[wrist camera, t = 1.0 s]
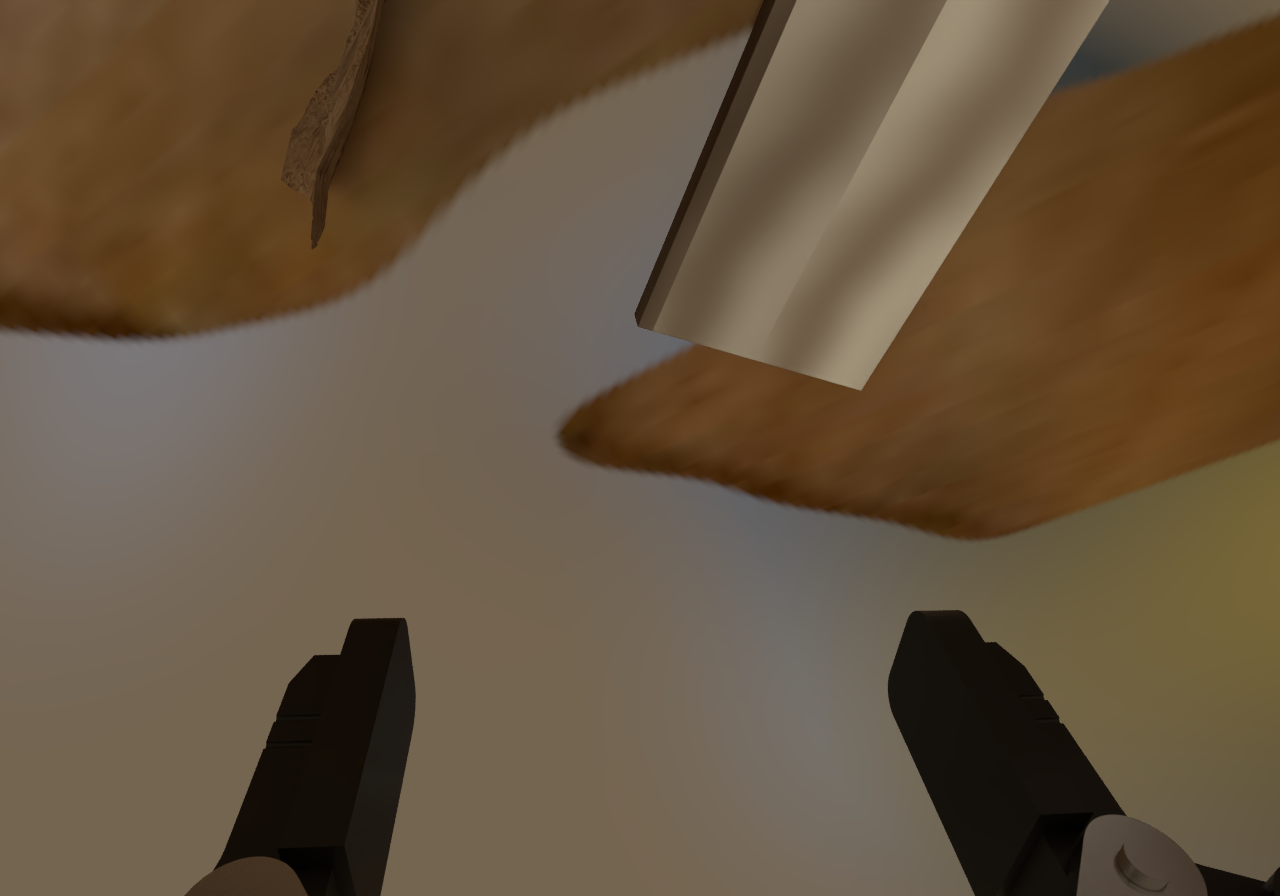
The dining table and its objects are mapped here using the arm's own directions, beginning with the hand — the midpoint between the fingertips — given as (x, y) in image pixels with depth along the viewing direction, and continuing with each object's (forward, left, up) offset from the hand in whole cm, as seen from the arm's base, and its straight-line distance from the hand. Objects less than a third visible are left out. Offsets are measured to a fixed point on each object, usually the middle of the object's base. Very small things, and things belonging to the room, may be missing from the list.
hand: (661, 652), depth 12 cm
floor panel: (+8, +7, -19) cm, 21 cm away
